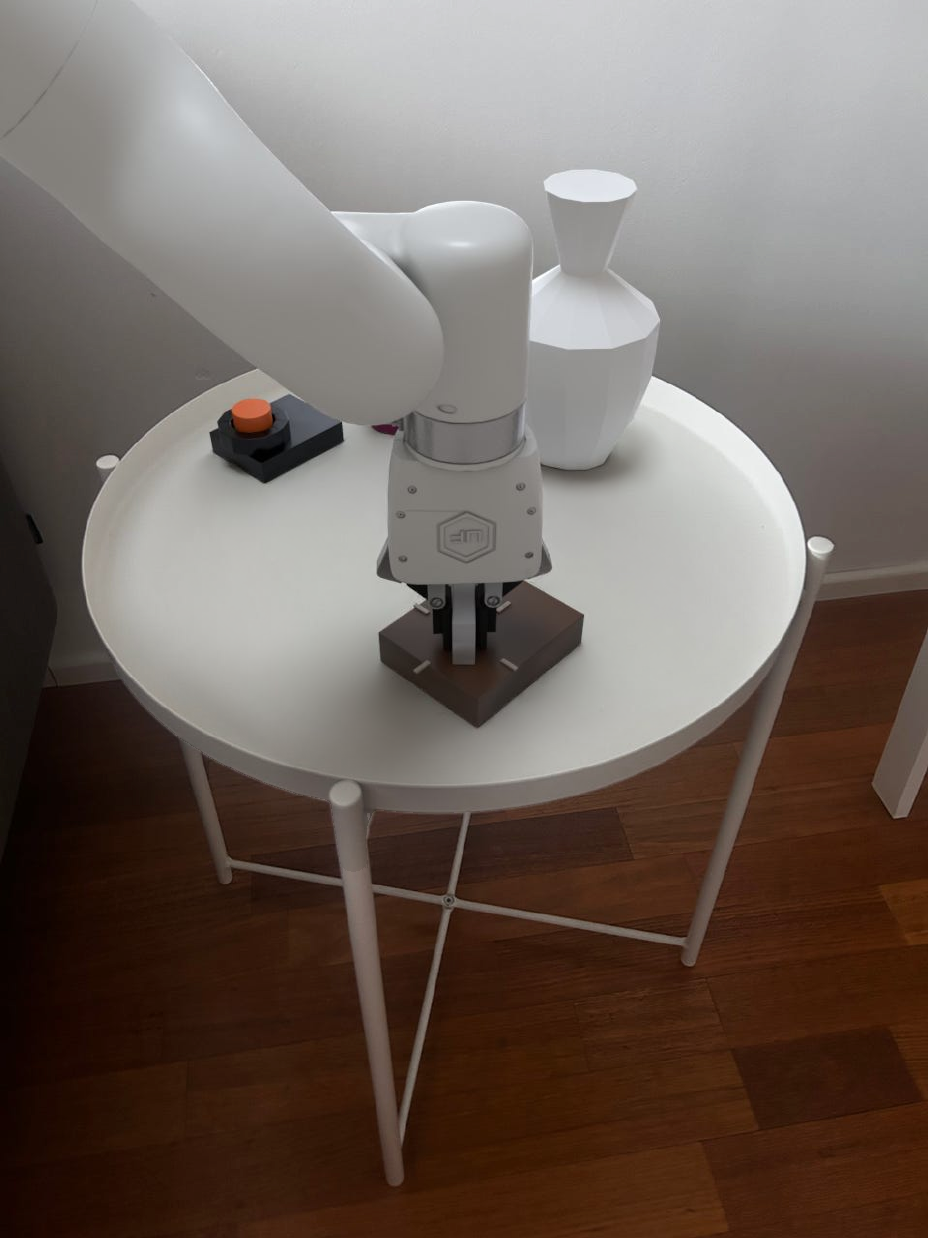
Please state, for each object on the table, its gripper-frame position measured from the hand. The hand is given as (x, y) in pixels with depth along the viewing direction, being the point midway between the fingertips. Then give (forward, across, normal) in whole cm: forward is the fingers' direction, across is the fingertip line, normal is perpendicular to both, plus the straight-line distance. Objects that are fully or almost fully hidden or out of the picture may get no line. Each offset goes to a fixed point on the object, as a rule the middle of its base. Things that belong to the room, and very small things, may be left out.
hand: (464, 635), depth 74 cm
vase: (+3, +12, +30) cm, 32 cm away
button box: (+3, -17, +31) cm, 36 cm away
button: (0, -18, +30) cm, 35 cm away
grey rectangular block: (0, 0, 0) cm, 0 cm away
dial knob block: (+3, +1, +1) cm, 4 cm away
